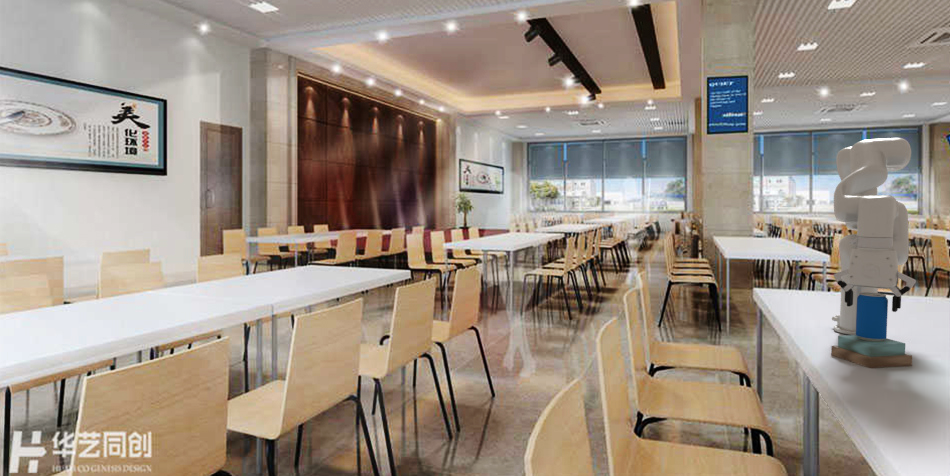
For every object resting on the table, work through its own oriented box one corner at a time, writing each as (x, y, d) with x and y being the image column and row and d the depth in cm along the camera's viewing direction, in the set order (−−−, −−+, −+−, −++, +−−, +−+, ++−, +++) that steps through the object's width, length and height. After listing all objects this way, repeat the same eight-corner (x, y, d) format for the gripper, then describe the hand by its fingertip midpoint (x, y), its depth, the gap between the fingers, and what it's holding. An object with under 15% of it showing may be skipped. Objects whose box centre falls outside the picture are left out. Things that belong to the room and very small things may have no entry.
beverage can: (891, 342, 135) (893, 296, 134) (863, 341, 136) (865, 295, 136) (877, 336, 141) (879, 292, 141) (850, 335, 143) (852, 291, 142)
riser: (831, 354, 144) (831, 335, 144) (869, 352, 146) (870, 333, 145) (870, 368, 132) (871, 346, 132) (911, 365, 134) (912, 344, 134)
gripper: (831, 242, 141) (829, 305, 142) (914, 246, 128) (911, 315, 130) (838, 240, 146) (836, 301, 147) (919, 244, 133) (916, 310, 135)
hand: (871, 308), depth 139 cm, fingers open, 9 cm apart
